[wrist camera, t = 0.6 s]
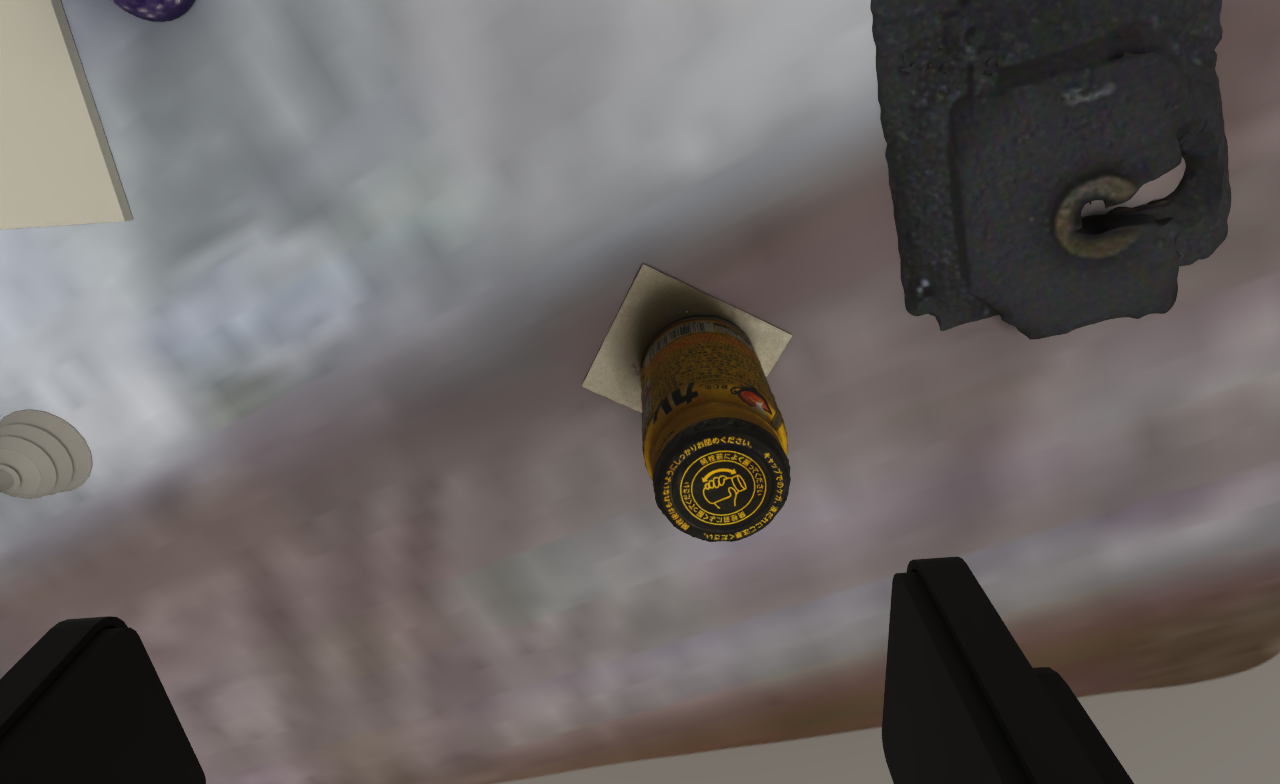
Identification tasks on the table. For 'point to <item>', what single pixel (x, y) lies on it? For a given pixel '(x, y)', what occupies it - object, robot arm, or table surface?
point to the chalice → (41, 455)
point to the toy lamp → (155, 8)
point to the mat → (50, 126)
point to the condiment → (699, 405)
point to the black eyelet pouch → (1049, 154)
